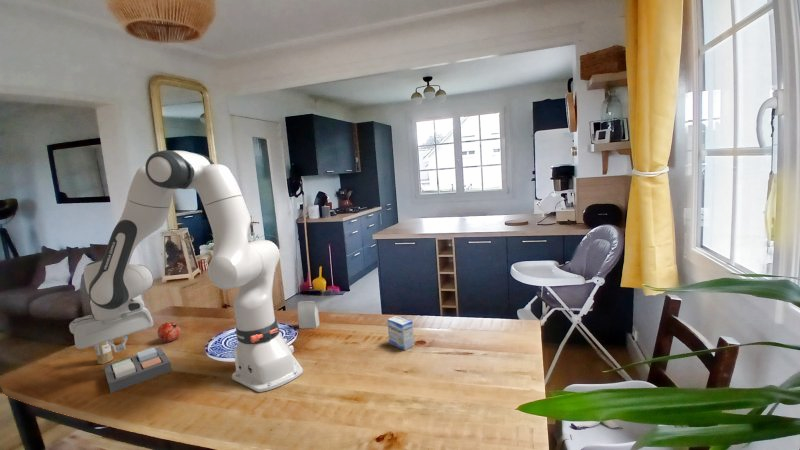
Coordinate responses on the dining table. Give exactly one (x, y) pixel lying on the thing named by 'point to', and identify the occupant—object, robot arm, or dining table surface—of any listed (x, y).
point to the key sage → (121, 363)
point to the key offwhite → (124, 370)
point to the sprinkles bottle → (103, 352)
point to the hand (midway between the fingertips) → (120, 350)
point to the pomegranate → (168, 332)
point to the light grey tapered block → (308, 314)
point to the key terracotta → (150, 363)
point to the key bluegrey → (147, 354)
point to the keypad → (137, 372)
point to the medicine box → (400, 332)
